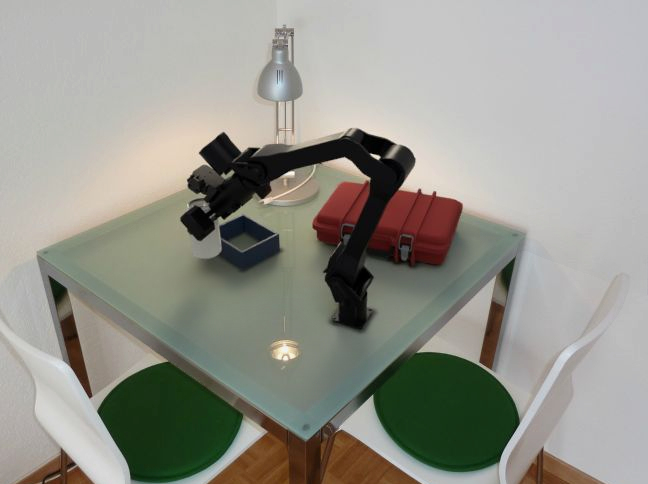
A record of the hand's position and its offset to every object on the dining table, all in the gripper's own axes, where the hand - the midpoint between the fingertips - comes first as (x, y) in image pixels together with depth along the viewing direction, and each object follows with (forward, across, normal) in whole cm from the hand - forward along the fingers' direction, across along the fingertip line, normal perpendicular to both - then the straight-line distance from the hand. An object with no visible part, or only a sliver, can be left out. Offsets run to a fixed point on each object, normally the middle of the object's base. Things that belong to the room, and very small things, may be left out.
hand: (198, 224), depth 135 cm
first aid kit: (-12, -33, +32) cm, 47 cm away
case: (+8, -13, +11) cm, 18 cm away
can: (+4, 0, +6) cm, 7 cm away
